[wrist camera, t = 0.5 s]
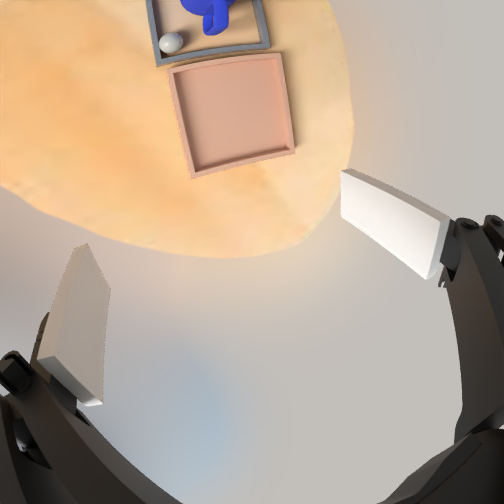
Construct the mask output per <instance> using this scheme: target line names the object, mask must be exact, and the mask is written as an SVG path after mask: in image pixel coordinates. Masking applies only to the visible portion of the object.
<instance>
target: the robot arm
mask: <svg viewBox="0 0 504 504" xmlns="http://www.w3.org/2000/svg"><path fill="white" fill-rule="evenodd" d="M341 217H342V218H344V219H345V220H347V221H348V222H350V223H351V224H353V225H354V226H355V227H357V228H358V229H360V230H361V231H362V232H364V233H365V234H367V235H368V236H369V237H371V238H372V239H374V240H375V241H376V242H378V243H379V244H381V245H382V246H383V247H384V248H386V249H387V250H389V251H390V252H391V253H392V254H394V255H395V256H396V257H398V258H399V259H400V260H402V261H403V262H404V263H405V264H407V265H408V266H409V267H410V268H412V269H413V270H414V271H415V272H417V273H418V274H419V275H420V276H422V277H423V278H424V279H425V280H427V279H428V278H430V277H432V276H433V275H435V274H436V272H437V269H438V265H439V262H441V263H442V264H443V265H444V268H443V271H442V274H441V277H440V281H439V283H438V287H441V284H442V282H444V281H445V283H444V286H443V287H445V288H447V292H448V297H449V301H450V305H451V310H452V315H453V320H454V326H455V331H456V338H457V344H458V351H459V359H460V370H461V382H462V402H463V406H462V412H461V415H460V417H459V419H458V421H457V424H456V428H455V438H454V445H452V446H451V447H449V448H448V449H446V450H445V451H443V452H441V453H440V454H438V455H436V456H435V457H433V458H431V459H430V460H429V461H428V462H426V463H425V464H424V465H423V466H421V467H420V468H419V469H418V470H416V471H415V472H414V473H412V474H411V475H410V476H408V477H407V478H406V479H405V481H404V482H403V483H402V484H401V485H400V486H399V487H398V488H397V489H396V490H395V491H394V492H393V493H392V494H391V495H390V496H389V497H388V498H387V499H386V500H385V501H383V502H380V503H378V504H504V429H499V428H500V427H501V426H502V425H504V255H503V258H502V260H501V262H500V260H499V258H498V256H499V253H500V250H502V251H503V252H504V221H503V220H502V219H501V218H499V217H498V216H495V215H487V216H486V217H485V220H484V224H483V225H482V226H479V224H478V223H477V222H475V221H473V220H471V219H467V218H458V219H457V220H456V221H453V220H451V219H450V217H449V216H447V215H445V214H443V213H442V212H440V211H438V210H436V209H434V208H433V207H431V206H429V205H427V204H425V203H423V202H422V201H420V200H418V199H416V198H414V197H412V196H410V195H408V194H406V193H404V192H402V191H400V190H398V189H396V188H394V187H392V186H389V185H387V184H385V183H383V182H381V181H379V180H377V179H374V178H372V177H370V176H368V175H365V174H363V173H361V172H358V171H356V170H354V169H347V170H342V171H341ZM109 297H110V287H109V285H108V284H107V282H106V280H105V278H104V276H103V274H102V272H101V270H100V268H99V266H98V264H97V262H96V260H95V258H94V256H93V254H92V252H91V250H90V247H89V245H88V244H85V245H82V246H80V247H77V248H75V249H74V251H73V253H72V255H71V258H70V260H69V263H68V265H67V267H66V270H65V272H64V275H63V277H62V280H61V282H60V285H59V287H58V290H57V293H56V296H55V299H54V301H53V304H52V307H51V310H50V312H48V313H47V314H46V316H45V317H44V319H43V320H42V322H41V325H40V328H39V331H38V333H39V334H38V335H37V338H36V342H35V345H34V349H33V352H32V356H31V360H30V364H29V363H28V362H27V361H26V360H25V359H24V358H23V357H22V356H21V355H20V354H19V352H18V351H11V352H8V353H7V354H6V355H5V356H4V357H3V358H2V359H1V360H0V384H1V385H2V386H3V387H4V388H5V389H6V390H8V391H9V392H10V393H9V394H8V395H6V396H4V397H3V396H2V395H1V394H0V504H182V503H181V502H179V501H178V500H176V499H175V498H174V497H172V496H170V495H169V494H168V493H167V492H165V491H164V490H163V489H161V488H160V487H159V486H157V485H156V484H155V483H153V482H152V481H151V480H150V479H149V478H147V477H146V476H145V475H144V474H143V473H141V472H140V471H139V470H138V469H137V468H135V467H134V466H133V465H132V464H131V463H130V462H129V461H128V460H127V459H126V458H124V457H123V456H122V455H121V454H120V453H119V452H118V451H117V450H116V449H115V448H114V447H113V446H112V445H111V444H110V443H109V442H108V441H107V440H106V439H105V438H104V436H103V435H102V434H101V433H100V432H99V431H98V430H97V429H96V428H95V427H94V426H93V425H92V423H91V422H90V421H89V420H88V419H87V418H86V416H85V415H84V414H83V413H82V412H81V411H80V410H79V409H77V408H76V406H77V399H78V400H79V401H80V402H82V403H83V404H84V405H85V406H94V405H99V404H103V373H104V349H105V334H106V323H107V313H108V305H109ZM17 443H18V444H20V445H22V449H23V452H22V451H20V450H19V447H18V445H17Z"/></svg>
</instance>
